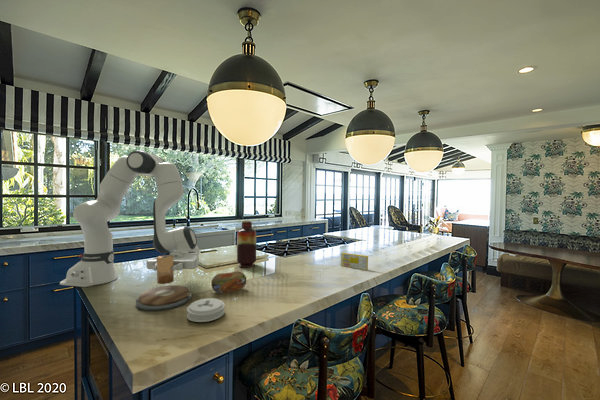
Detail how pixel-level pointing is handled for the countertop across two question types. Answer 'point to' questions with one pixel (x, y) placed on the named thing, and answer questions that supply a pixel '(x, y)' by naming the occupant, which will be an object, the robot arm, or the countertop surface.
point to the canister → (165, 269)
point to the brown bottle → (246, 245)
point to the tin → (228, 282)
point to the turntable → (164, 295)
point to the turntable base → (162, 307)
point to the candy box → (354, 261)
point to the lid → (205, 310)
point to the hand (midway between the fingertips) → (164, 268)
